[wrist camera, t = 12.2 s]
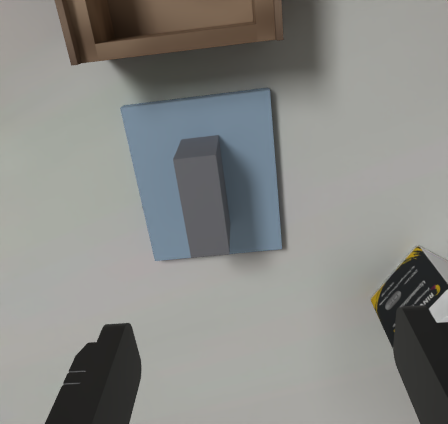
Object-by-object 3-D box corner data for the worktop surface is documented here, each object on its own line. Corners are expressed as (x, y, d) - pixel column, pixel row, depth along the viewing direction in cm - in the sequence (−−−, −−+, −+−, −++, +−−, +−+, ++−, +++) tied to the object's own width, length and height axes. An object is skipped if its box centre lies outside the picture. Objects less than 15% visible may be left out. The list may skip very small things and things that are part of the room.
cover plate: (124, 104, 35) (102, 124, 29) (268, 86, 34) (275, 103, 28) (157, 252, 41) (144, 294, 35) (280, 240, 40) (288, 281, 34)
